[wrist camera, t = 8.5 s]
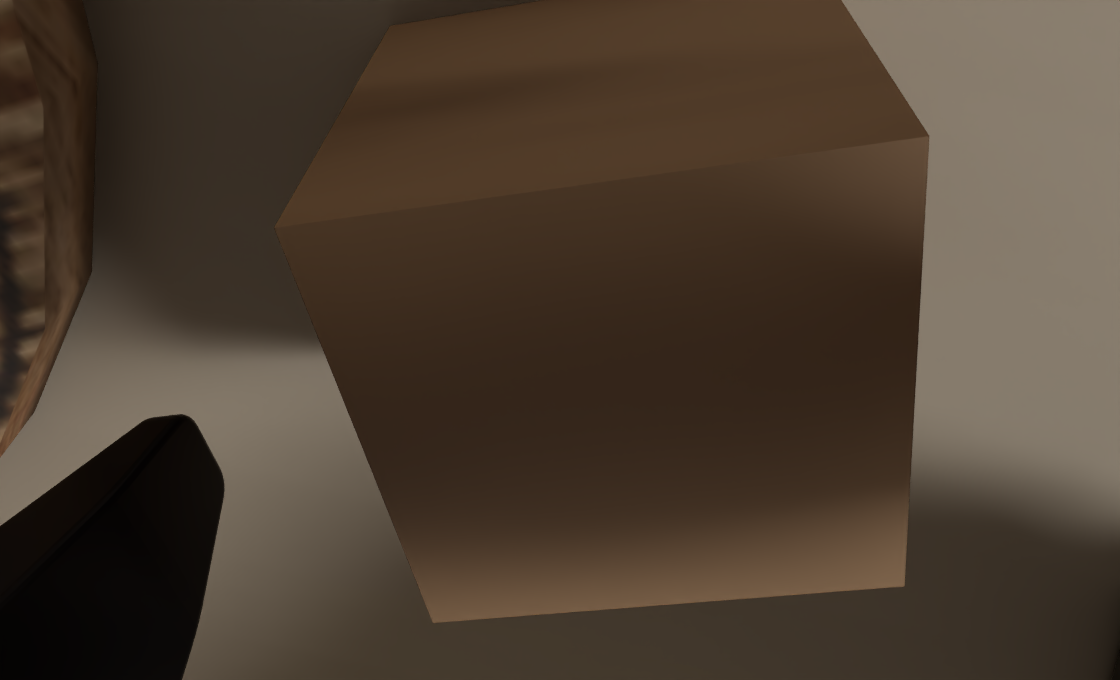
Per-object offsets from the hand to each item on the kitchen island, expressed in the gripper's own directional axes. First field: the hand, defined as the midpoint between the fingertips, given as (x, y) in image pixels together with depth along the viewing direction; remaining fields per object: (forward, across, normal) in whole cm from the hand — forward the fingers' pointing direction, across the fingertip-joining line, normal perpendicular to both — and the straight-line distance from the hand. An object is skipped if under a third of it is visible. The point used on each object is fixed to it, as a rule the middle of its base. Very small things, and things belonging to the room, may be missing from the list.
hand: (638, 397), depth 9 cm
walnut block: (+4, 0, 0) cm, 4 cm away
